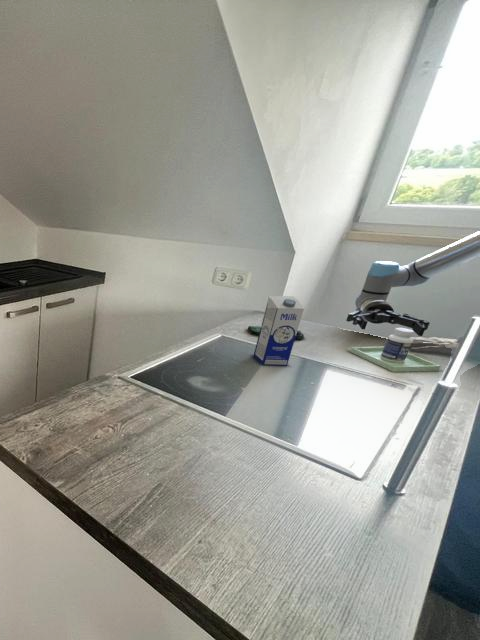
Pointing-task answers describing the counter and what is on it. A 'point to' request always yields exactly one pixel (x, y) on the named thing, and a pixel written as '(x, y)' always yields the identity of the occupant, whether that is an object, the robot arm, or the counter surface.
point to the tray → (408, 365)
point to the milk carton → (278, 330)
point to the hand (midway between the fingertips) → (392, 328)
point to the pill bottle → (398, 345)
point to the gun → (256, 330)
